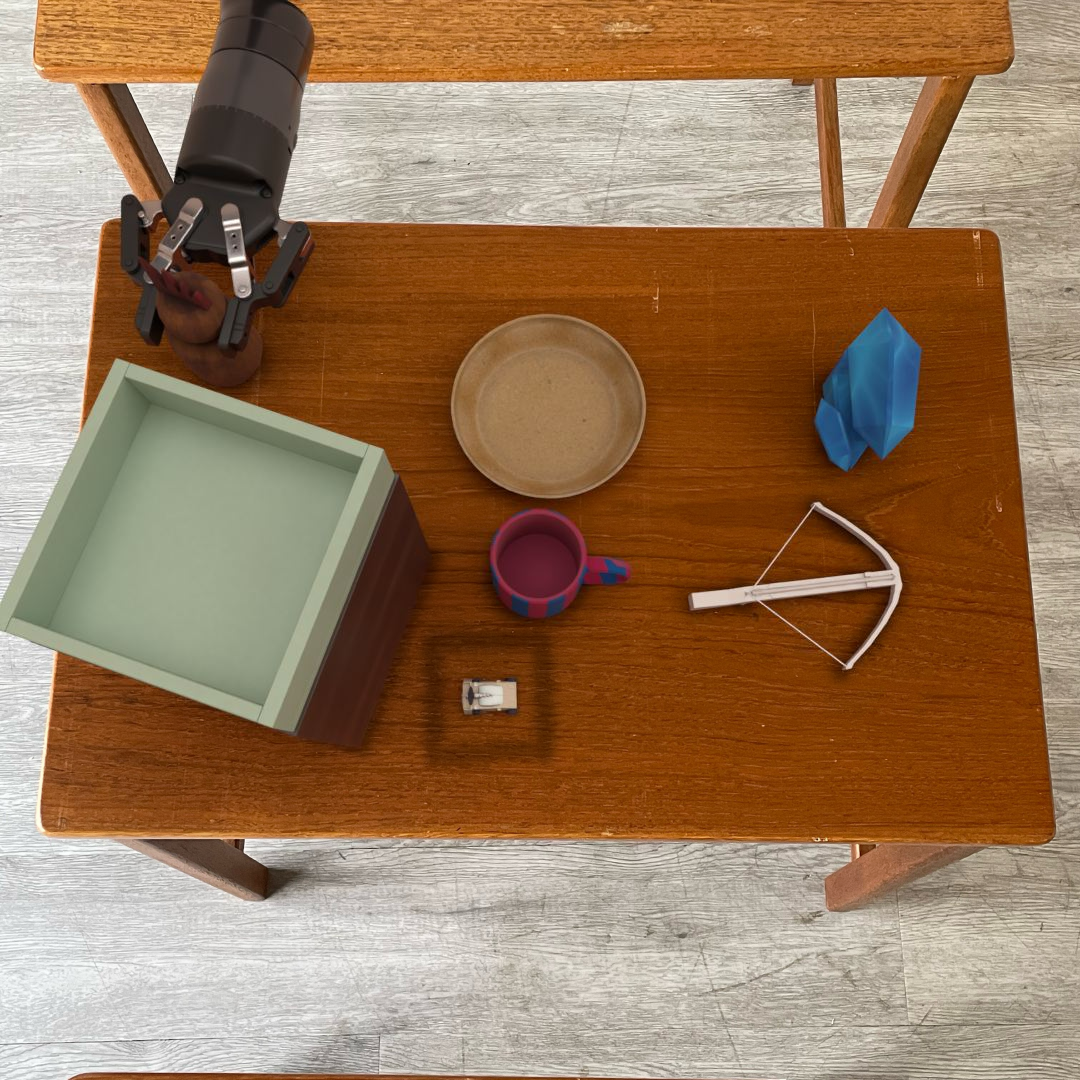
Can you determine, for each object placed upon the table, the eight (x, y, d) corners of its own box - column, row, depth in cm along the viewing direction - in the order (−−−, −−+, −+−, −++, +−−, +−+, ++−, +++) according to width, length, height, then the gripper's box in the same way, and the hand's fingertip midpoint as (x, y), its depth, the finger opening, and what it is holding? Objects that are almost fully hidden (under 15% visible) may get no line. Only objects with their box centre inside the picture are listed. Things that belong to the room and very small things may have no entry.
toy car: (517, 714, 76) (517, 712, 74) (462, 715, 76) (460, 714, 74) (516, 678, 76) (516, 675, 74) (461, 679, 76) (460, 677, 74)
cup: (503, 522, 79) (502, 499, 72) (632, 551, 79) (642, 530, 72) (483, 607, 77) (479, 591, 71) (614, 637, 77) (623, 624, 70)
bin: (34, 639, 54) (-12, 626, 50) (148, 391, 57) (115, 357, 53) (293, 732, 54) (272, 728, 49) (395, 475, 57) (384, 449, 52)
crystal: (828, 468, 73) (831, 297, 73) (796, 474, 82) (798, 322, 82) (933, 469, 73) (935, 299, 73) (889, 476, 82) (892, 324, 82)
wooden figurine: (173, 354, 81) (96, 262, 67) (229, 307, 82) (165, 206, 68) (229, 413, 80) (164, 333, 66) (286, 364, 81) (233, 274, 67)
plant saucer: (432, 352, 82) (429, 338, 79) (611, 308, 83) (614, 293, 80) (479, 528, 79) (478, 519, 76) (665, 479, 80) (670, 470, 77)
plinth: (167, 679, 76) (29, 641, 54) (247, 492, 79) (146, 387, 58) (359, 748, 75) (296, 737, 54) (432, 556, 78) (399, 473, 57)
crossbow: (875, 500, 81) (886, 493, 79) (909, 662, 78) (921, 659, 76) (675, 522, 79) (681, 515, 77) (702, 688, 76) (709, 685, 74)
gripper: (127, 86, 73) (64, 308, 69) (328, 117, 72) (276, 342, 69) (163, 149, 80) (107, 353, 76) (346, 178, 80) (299, 383, 76)
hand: (188, 346), depth 72 cm, fingers closed on wooden figurine, 5 cm apart
